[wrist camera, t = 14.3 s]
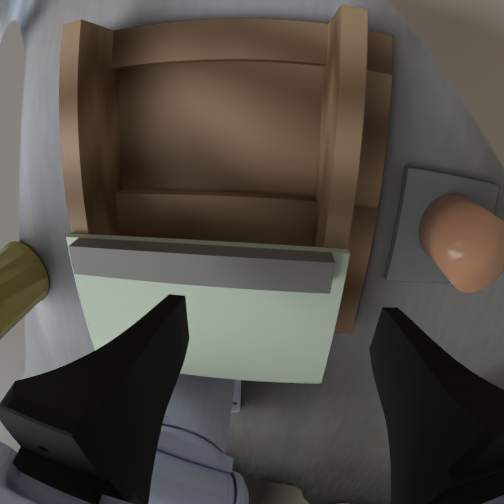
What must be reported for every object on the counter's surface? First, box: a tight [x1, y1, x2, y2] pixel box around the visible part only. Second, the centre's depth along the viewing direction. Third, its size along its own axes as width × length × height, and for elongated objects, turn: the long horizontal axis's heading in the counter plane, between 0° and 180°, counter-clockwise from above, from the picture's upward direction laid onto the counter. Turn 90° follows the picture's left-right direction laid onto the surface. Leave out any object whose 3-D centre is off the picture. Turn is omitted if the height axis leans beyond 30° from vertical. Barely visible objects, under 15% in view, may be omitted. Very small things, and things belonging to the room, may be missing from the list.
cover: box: [66, 233, 350, 383], centre depth 17 cm, size 9×15×2 cm, turn 88°
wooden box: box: [59, 5, 393, 333], centre depth 18 cm, size 20×20×5 cm
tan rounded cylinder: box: [419, 193, 504, 293], centre depth 17 cm, size 5×5×4 cm
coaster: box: [384, 166, 500, 283], centre depth 20 cm, size 8×8×1 cm
